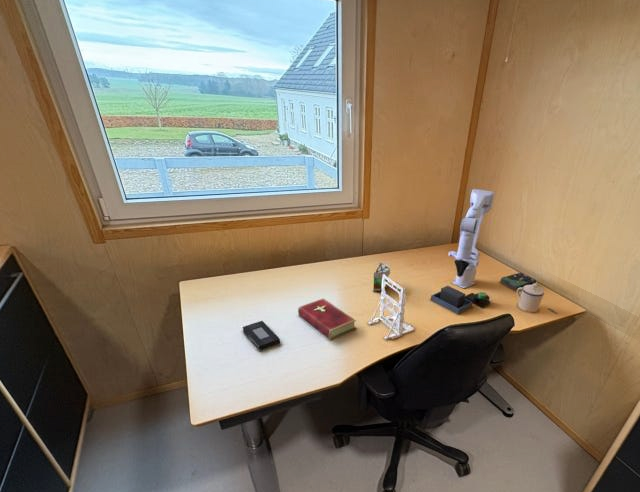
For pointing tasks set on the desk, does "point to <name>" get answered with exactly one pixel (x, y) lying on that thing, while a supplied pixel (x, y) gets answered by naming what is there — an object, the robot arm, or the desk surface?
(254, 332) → the vhs tape
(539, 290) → the teacup with lid
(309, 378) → the desk surface
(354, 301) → the desk surface
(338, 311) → the hardcover book
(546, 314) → the desk surface
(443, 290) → the dark grey block
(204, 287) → the desk surface
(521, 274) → the disk drive
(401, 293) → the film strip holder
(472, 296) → the panel
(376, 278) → the food container
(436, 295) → the open rectangular tray
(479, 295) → the button
